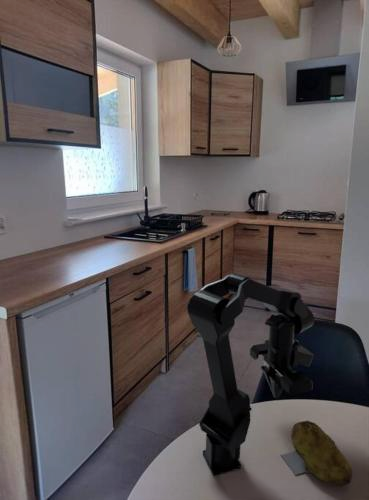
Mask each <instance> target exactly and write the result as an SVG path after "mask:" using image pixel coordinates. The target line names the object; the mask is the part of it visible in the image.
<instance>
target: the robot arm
mask: <svg viewBox="0 0 369 500" xmlns="http://www.w3.org/2000/svg"><path fill="white" fill-rule="evenodd" d="M229 294H234V295H236V296H235V297H233V299H231V300H230V299H229V298H227V297H224V296H227V295H229ZM248 298H249V299H252V300H254V301H258V302H261V303H262V305H263V306H264V307H265V308H267V309H269V310H270V311H274V312H276V313H278V314H275V315H274V314H271V315H270V317H269V318H267V319H266V320H265V322H264V325H266V326H269V328H268V329H269V330H268V331H269V332H268V339H266V340H264V343H259V344H258V343H257V344H253V345H252V346H251V347H250V349H249V355H250V357H251V358H252V359H253V360H254V361H256V360H258V359H259V356H262V357H263V359H262V362H263V365H261V366H260V369H261V370H262V372H263V375H264V376H265V379H266V381H267V384H268V386H269V389H270V391H271V394H272V396H273V398H274V399H279V398H280V396H281V395H282V393H283V391H285V393H287V394H288V395H290V396H295V395H301V394H304V393H309V392H312V391H313V389H314V388H313V387H314V381H313V380H312V379H311V378H309V376H308V375H306V374H305V373H304V372H302V371H301V370H299V371H297V370H295V369H294V368H298V365H301V366H305V367H306V368H307V367H308V368H309V367H310V366H311V364H312V362H313V360H314V356H315V355H314V354H315V353H312V352H311V351H309V350H308V349H307V348H305V347H304V346H302V345H301V344H300V341H298V340H297V339H296V338H295V335H298V334H301V333H303V332H305V331H306V330H308V329H309V328H311V327H312V326H314V324H315V320H316V318H315V316H314V314H313V312H312V310H311V309H309V303H305V302H304V300H303V298H302V294H301V293H300V292H298V291H293V290H290V289H287V288H284V287H279V286H275V285H266V284H264V283H262V282H259V281H257V280H253V279H252V278H251V277H249V276H245V275H242V274H240V273H236V272H232V273H229V274H227V275H226V276H224V277H223V278H222V279H219V280H217V281H214V282H211V283H207V284H206V285H204V286H203V287H202V288H201V289H200V290H198V291H196V292H195V293H194V294H193V295H192V296H191V297H190V298H189V300H188V303H187V306H186V307H187V314H188V317H189V319H190V321H191V324H192V326H193V327H194V328H195V330H196V331H197V333H198V334H199V335H200V337H201V339H202V341H203V345H204V350H205V356H206V360H207V362H206V363H207V367H208V369H209V371H208V372H209V376H210V380H211V386H212V391H213V393H212V395H211V397H210V398H209V400H208V407H207V409H206V411H205V413H204V415H203V416H202V417H201V420H200V422H199V425H198V426H199V428H200V430H201V431H202V432H204V433H205V434H206V435H205V437H206V438H205V449H204V450H202V455H203V457H204V459H205V462H206V463H207V465H208V468H209V470H210V472H211V474H212V475H213V476H218V475H222V474H225V473H230V472H233V471H236V470H240V469H242V464H241V462H240V461H239V460H240V458H241V445H242V444H243V443H245V442H246V438H247V435H248V432H249V427H250V424H251V411H252V410H253V409H252V407H251V402H250V401H251V400H250V396H249V394H247V393H245V392H244V391H243V390H240V389H239V388H238V386H237V385H238V384H237V379H236V373H235V367H234V361H233V354H232V347H231V343H230V333H231V331H232V330H233V328H234V326H235V323H236V322H235V319H236V318H238V316H240V315H241V314H242V313H243V312H244V306H245V302H246V300H247V299H248Z"/></svg>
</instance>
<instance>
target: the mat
mask: <svg viewBox="0 0 369 500" xmlns="http://www.w3.org/2000/svg"><path fill="white" fill-rule="evenodd" d="M280 457H281V458H282V459H283V461H284V462H285V464H286V465H287V466H288V468H289V469H290V470H291V472H292V473H293V474H294V476H298V475H301V474H302V475H303V474H305V473H308V472H311V471H310V470H309V469H308V468H307V466H306V464H305V462H304V460H303V459H302V458H301V457H300V456H299V455H298V453H297V452H296V451H291V452H286V453H283V454H280Z"/></svg>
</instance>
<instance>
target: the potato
mask: <svg viewBox="0 0 369 500" xmlns="http://www.w3.org/2000/svg"><path fill="white" fill-rule="evenodd" d="M291 428H292V429H291V435H290V437H291V441H292V445H293V447H294V450H295V451H296V452H297V453H298V455H299V456H300V457H301V458H302V459H303V460H304V462H305V464H306V466H307V468H308V469H309V470H310V471H309V472H311V474H313V475H314V476H315V477H316V478H318V479H319V480H321V481H323V482H325V483H327V484H329V485H333V486H338V487H343V486H347V485H349V484H350V483H351V482H352V477H353V473H352V472H353V471H352V467H351V465H350V463H349V461H348V460H347V459H346V457H345V456H344V453H343V452H341V450H340V449H339V447H338V446H337V444H336V442H335V441H334V439H332V438H331V436H330V435H328V434H327V433H326V432H325V431H324V430H323V429H322V427H320V426H319V424H317V423H315V422H313V421H310V420H303V421H299V422H296V423H295V424H294V425H293V426H292V427H291Z"/></svg>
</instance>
